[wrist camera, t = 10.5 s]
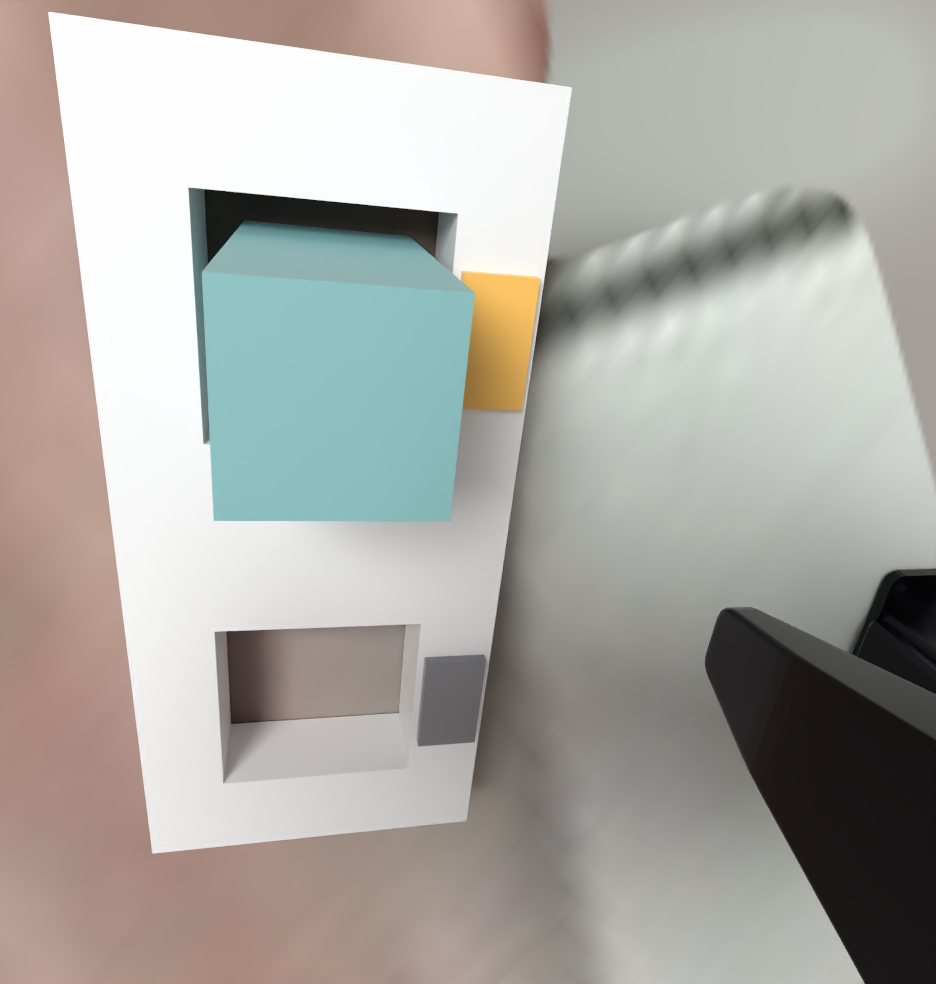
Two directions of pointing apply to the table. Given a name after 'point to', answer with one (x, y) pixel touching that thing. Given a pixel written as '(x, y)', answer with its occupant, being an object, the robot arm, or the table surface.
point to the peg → (333, 375)
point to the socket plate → (185, 418)
